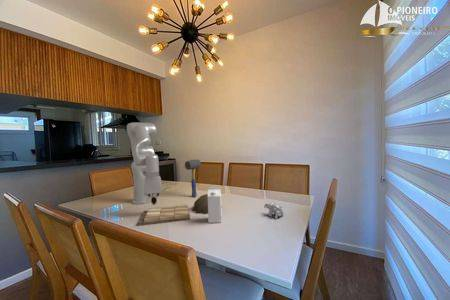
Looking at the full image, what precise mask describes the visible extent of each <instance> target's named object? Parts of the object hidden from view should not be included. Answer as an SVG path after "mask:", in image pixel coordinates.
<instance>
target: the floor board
mask: <svg viewBox="0 0 450 300" xmlns="http://www.w3.org/2000/svg"><path fill="white" fill-rule="evenodd" d="M161 209H162V210H161V214H158V215H149V216H146V215H147V212H148V210H149V209H148V210H143V212H142V214H141V217H140V219H139V220H138V224H137V225H138V226H139V227H141V226H147V225H156V224H157V225H158V224H163V223H164V224H165V223H172V222H173V223H174V222H182V221H190V220H191V216H190V209H189V206H188V204H177V205H165V206H161Z"/></svg>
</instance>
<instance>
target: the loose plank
mask: <svg viewBox="0 0 450 300" xmlns="http://www.w3.org/2000/svg"><path fill="white" fill-rule="evenodd" d="M161 210H162V206H161V207H160V206H159V207H149V208H148V212H147V215H146V216H149V215H158V214H161Z"/></svg>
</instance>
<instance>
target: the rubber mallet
mask: <svg viewBox="0 0 450 300" xmlns="http://www.w3.org/2000/svg"><path fill="white" fill-rule="evenodd" d="M201 166H202V163H201V160H199V159H190V160H186V161H185V162H184V168H185V169H186V170H189V171H190V170H191V197H192V198H196V197H197V196H198V194H197V180H196V170H195V169H199V168H201Z"/></svg>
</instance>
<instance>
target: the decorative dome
mask: <svg viewBox="0 0 450 300" xmlns="http://www.w3.org/2000/svg"><path fill="white" fill-rule="evenodd" d="M192 211H193V212H195V214H201V215H208V193H207V194H206V193H205V194H202V195H200V196H199V197H198V198H197V199H196V200H195V201H194V203H193V208H192Z"/></svg>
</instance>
